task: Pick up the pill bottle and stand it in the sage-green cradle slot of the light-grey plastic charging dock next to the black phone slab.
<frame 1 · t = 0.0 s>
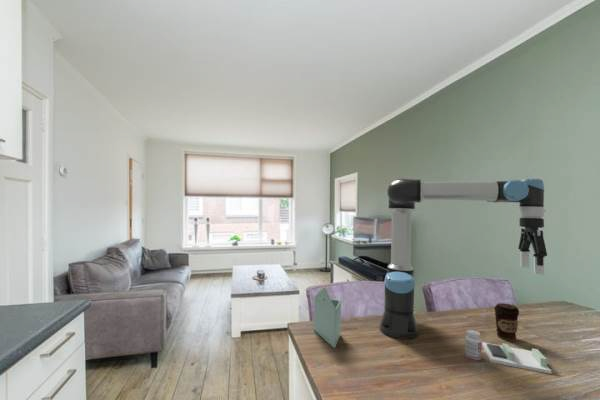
hand: (531, 270, 109), 28 cm above the table, fingers open, 13 cm apart
coffee cup: (506, 338, 111), on the table
green magazine holder: (331, 336, 108), on the table
dock: (513, 358, 95), on the table
pill bottle: (473, 357, 95), on the table
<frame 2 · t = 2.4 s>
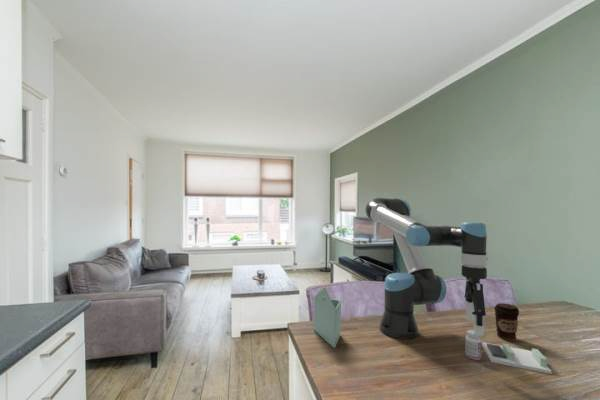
hand: (474, 327, 95), 10 cm above the table, fingers open, 13 cm apart
nothing on the table moved.
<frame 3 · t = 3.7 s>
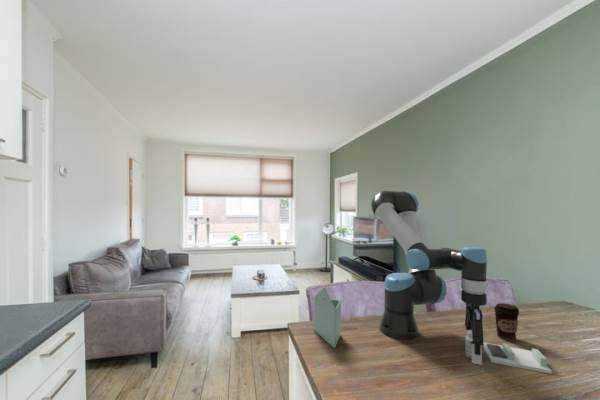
hand: (473, 356, 95), 0 cm above the table, fingers open, 9 cm apart
nothing on the table moved.
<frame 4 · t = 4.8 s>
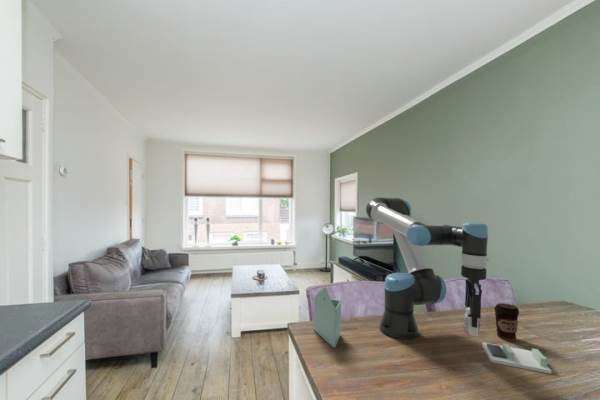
hand: (471, 332, 96), 8 cm above the table, fingers closed on pill bottle, 5 cm apart
pill bottle: (471, 333, 96), point 8 cm above the table, touching gripper
everything else where it was.
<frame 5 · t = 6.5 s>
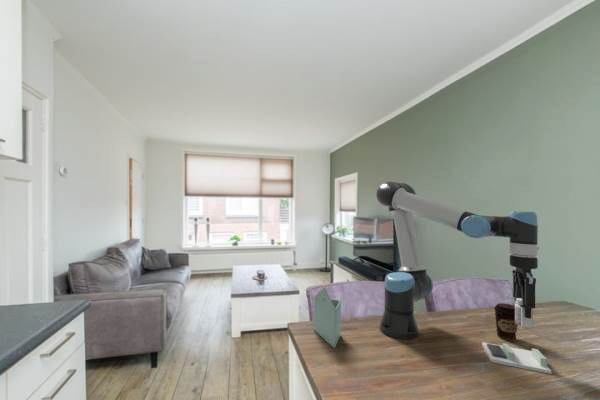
hand: (523, 323, 94), 13 cm above the table, fingers closed on pill bottle, 5 cm apart
pill bottle: (523, 325, 94), point 12 cm above the table, touching gripper
everything else where it was.
when the fingers open (2 cm above the table, at t = 8.6 s): pill bottle stays where it is, resting on dock.
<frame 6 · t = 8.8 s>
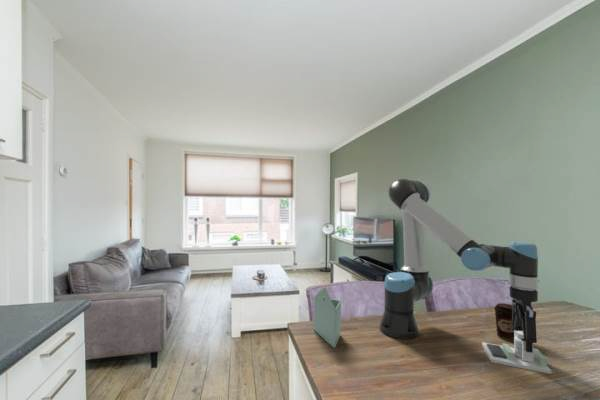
hand: (523, 355, 93), 2 cm above the table, fingers open, 7 cm apart
pill bottle: (523, 358, 93), point 1 cm above the table, touching dock
everything else where it was.
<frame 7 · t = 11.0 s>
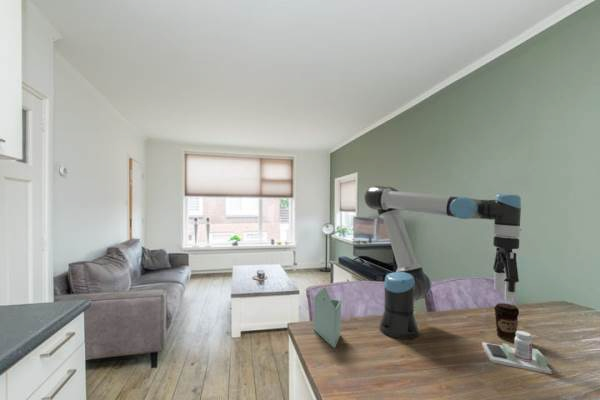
hand: (503, 295, 99), 21 cm above the table, fingers open, 13 cm apart
nothing on the table moved.
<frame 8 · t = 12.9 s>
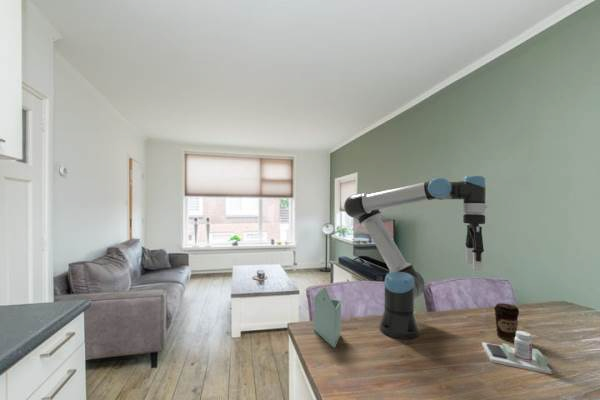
hand: (473, 266, 110), 29 cm above the table, fingers open, 13 cm apart
nothing on the table moved.
at the end: pill bottle inside the target area on the dock (0.0 cm from its centre), point 0.8 cm above the dock's base; pill bottle tilted 0°; the gripper is holding nothing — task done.
